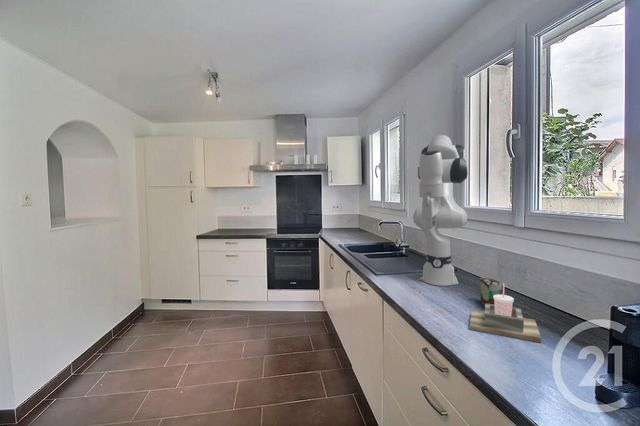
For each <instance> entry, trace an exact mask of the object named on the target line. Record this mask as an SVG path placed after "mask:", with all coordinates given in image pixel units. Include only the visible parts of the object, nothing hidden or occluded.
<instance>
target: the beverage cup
mask: <svg viewBox="0 0 640 426" xmlns="http://www.w3.org/2000/svg"><path fill="white" fill-rule="evenodd" d="M505 288H506V287H505V282H503V283H502V294H500V293H499V294H498V295H494V296H493V299H494V306H495V314H497V315H503V316H510V317H511V314H512V307H513V303H514V301H515V298H514V297H512V296H510V295H507V294H505Z"/></svg>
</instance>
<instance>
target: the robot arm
mask: <svg viewBox="0 0 640 426" xmlns="http://www.w3.org/2000/svg"><path fill="white" fill-rule="evenodd" d="M466 157H467V154H466V150H465V147H464V145H461V144H453V143H452V140H451V138H450V137H449V136H448V135H446V134H438V135H436V136H435V137H433V138H432V139H431V141H430V142H429V144H428V145H427V146H426V147H424V148H423V149H422V150H421V152H420V157H419V164H418V165H419V166H418V167H417V178H418V179H419V184H418V185H419V187H418V188H419V189H418V190H419V191H418V193H419V194H418V196H419V198H422V204H421V207H417V208H416V209H415V210H414V212H413V215H412V220H413V222H414V225H416V227H418V228H419V229H420V230H421V231H422V232H423V233H424V235H425V238H426V246H427V249H426V250H427V253H426V257H425V258H426V262H425V263H424V264H423V266H422V267H423V269H422V270H423V271H422V276H420V277H419V280H420V281H422V282H424V283H426V284H428V285H431V286H432V285H434V286H440V287H441V286H445V287H447V286H452V285H454V286H457V285H459V281H458V279H457V276H456V274H455V267H454V266H453V265H452V255H451V252H452V251H451V248H452V247H451V239H450V238H449V237H447V236H446V235H445V234H442V233H440V232H439V229H449V230H450V229H452V230H454V229H461V228H463V227H465V226H466V224H467V221H468V213H467V212H466V210H465V209H464V208H463V207H461V206H459V205H458V204H457V202H456V200H455V198H454V190H453V189H454V184H461V183H463V182H464V181H465V180H467V179H468V176H469V165H468V163H467V160H466Z"/></svg>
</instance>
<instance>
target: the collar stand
mask: <svg viewBox="0 0 640 426" xmlns="http://www.w3.org/2000/svg"><path fill="white" fill-rule="evenodd" d="M469 330H470V331H476V332H481V333H487V334H492V335H497V336H502V337H503V336H504V337H507V338H513V339H517V340H518V339H520V340H523V341H524V340H525V341H531V342H534V343H540V344H541V343H542V337H541V334H540V331H539V327H538V325H537V322H536V320H535V319H532V318H526V317H524V316H523V312H522V310H521V308H519V307H513V306H512V314H511V317H510V316H503V315H497V314H495V306H494V305H493V304H486V303H485V306H484V311H480V310H474V309H471V313H470V321H469Z"/></svg>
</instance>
